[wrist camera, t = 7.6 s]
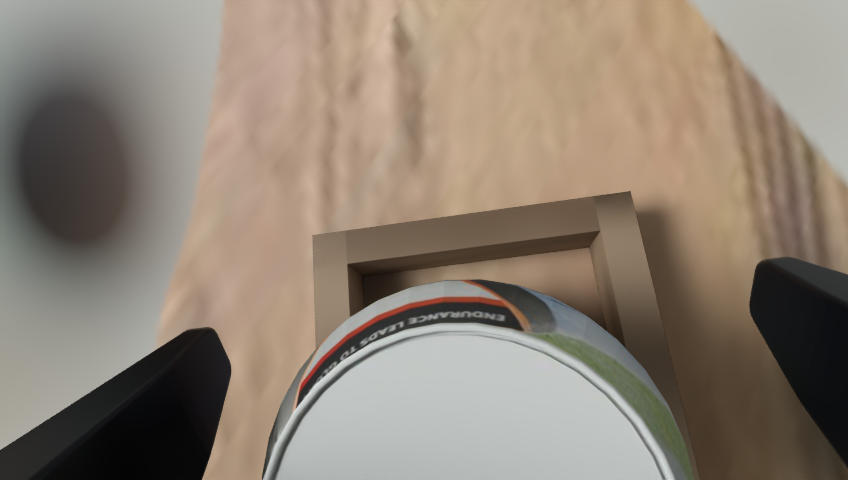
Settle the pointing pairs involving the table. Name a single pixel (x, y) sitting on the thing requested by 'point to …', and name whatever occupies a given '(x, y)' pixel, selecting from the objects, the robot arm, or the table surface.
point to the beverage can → (473, 395)
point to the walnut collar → (509, 237)
